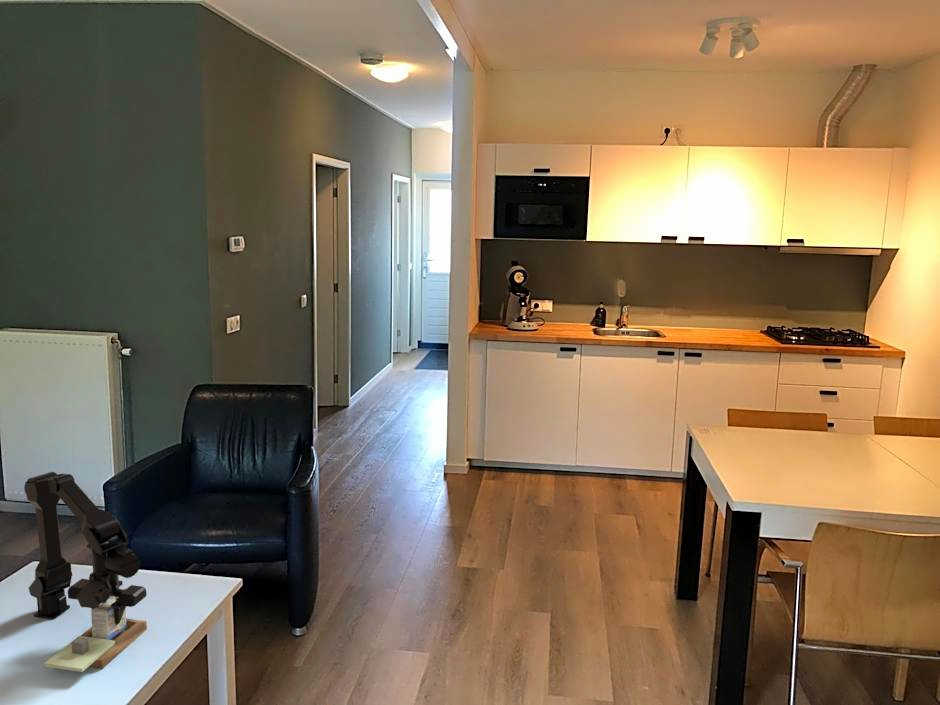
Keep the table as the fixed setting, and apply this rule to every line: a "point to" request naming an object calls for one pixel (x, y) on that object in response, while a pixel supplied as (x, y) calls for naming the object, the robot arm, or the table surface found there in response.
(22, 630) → the table surface
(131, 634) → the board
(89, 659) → the cover
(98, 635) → the medicine box
